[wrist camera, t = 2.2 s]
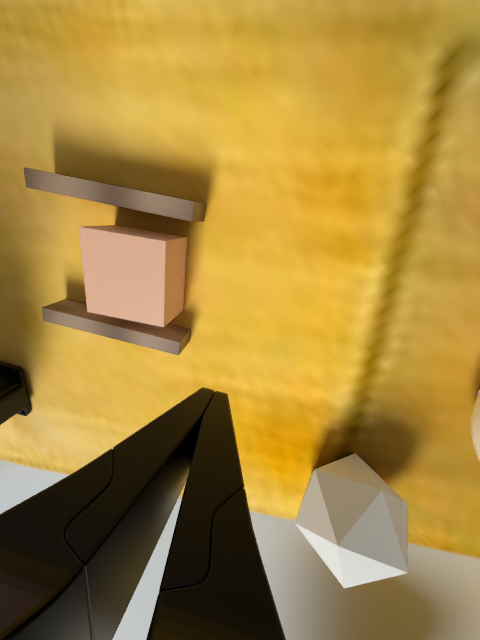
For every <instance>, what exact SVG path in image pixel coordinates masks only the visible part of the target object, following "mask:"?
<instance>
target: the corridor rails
mask: <svg viewBox="0 0 480 640" xmlns="http://www.w3.org/2000/svg"><path fill="white" fill-rule="evenodd" d="M24 174H25V181H26V187H28V188H33V189H37V190H42V191H47V192H52V193H57V194H62V195H66V196H71V197H76V198H81V199H86V200H90V201H95V202H100V203H105V204H110V205H114V206H119V207H124V208H129V209H134V210H139V211H143V212H148V213H153V214H158V215H163V216H167V217H172V218H177V219H182V220H187V221H192V222H196V221H204V214H205V205H206V204H205V203H200V202H195V201H190V200H185V199H180V198H175V197H170V196H165V195H160V194H155V193H150V192H145V191H140V190H135V189H130V188H125V187H120V186H115V185H110V184H105V183H100V182H95V181H90V180H85V179H80V178H75V177H70V176H65V175H60V174H55V173H50V172H45V171H40V170H34V169H29V168H24ZM42 311H43V319H44V321H47V322H51V323H55V324H59V325H63V326H66V327H70V328H74V329H78V330H82V331H86V332H90V333H94V334H98V335H101V336H105V337H109V338H113V339H117V340H121V341H125V342H129V343H133V344H136V345H140V346H144V347H148V348H152V349H156V350H160V351H164V352H168V353H171V354H175V355H179V354H180V353H181V351H182V350H183V349H184V348H185V346H186V345H187V344H188V343H189V340H190V332H191V330H190V329H186V328H182V327H178V326H174V325H170V324H167V325H166V326H165V327H159V326H155V325H150V324H145V323H140V322H135V321H130V320H125V319H120V318H115V317H110V316H106V315H101V314H96V313H91V312H87V304H85V303H81V302H77V301H72V300H68V299H64V300H61V301H59V302H56V303H53V304H50V305H48V306H45V307H42Z"/></svg>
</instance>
